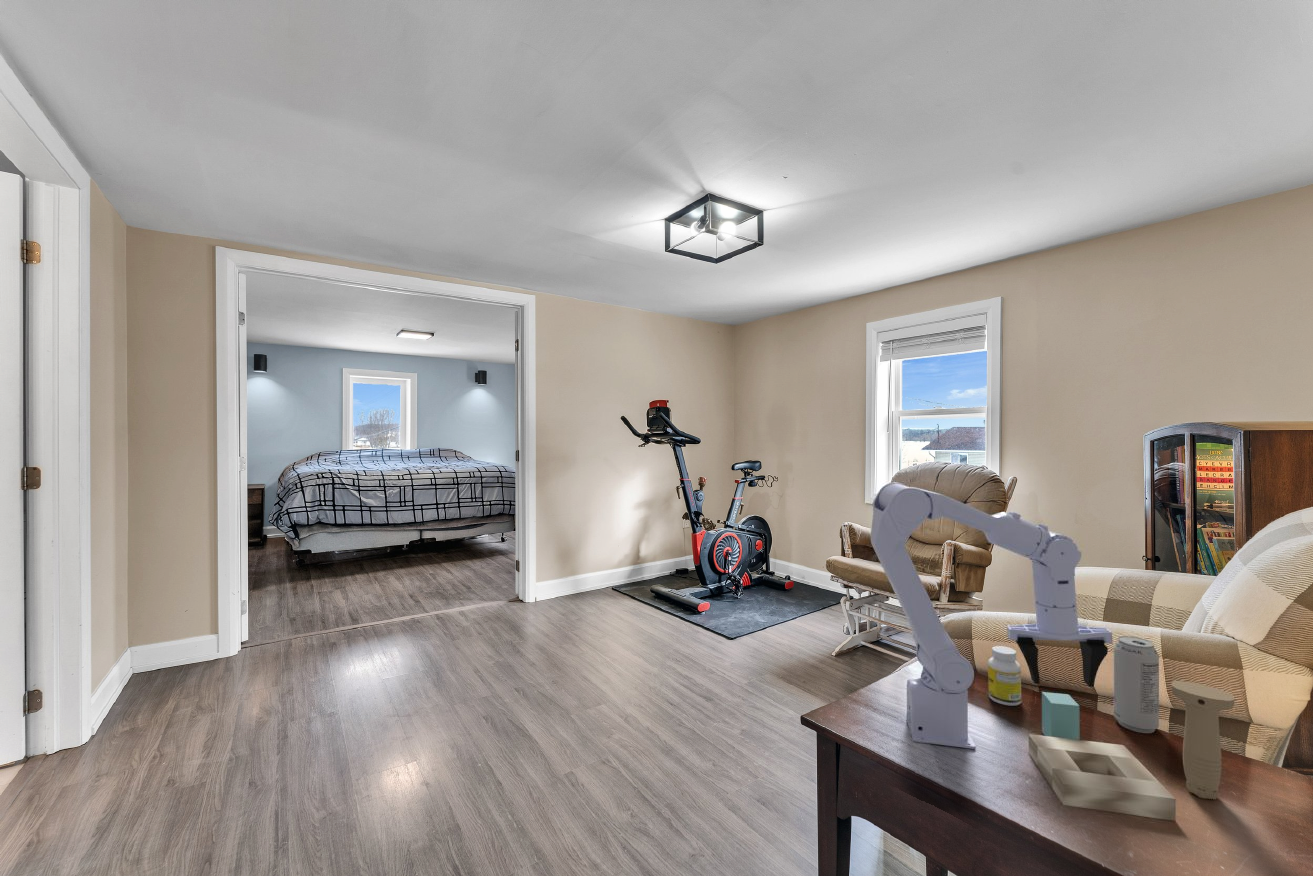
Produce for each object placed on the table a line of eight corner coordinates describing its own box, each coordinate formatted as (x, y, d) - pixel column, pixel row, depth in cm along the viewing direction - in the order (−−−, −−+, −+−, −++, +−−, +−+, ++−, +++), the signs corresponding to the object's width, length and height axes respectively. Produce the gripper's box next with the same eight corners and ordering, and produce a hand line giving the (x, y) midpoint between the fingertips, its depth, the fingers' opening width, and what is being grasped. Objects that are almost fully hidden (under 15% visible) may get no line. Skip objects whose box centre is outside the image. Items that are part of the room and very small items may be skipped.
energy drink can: (1128, 714, 102) (1128, 633, 101) (1167, 731, 96) (1167, 645, 96) (1105, 720, 100) (1105, 637, 100) (1144, 738, 94) (1144, 650, 94)
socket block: (1063, 804, 78) (1063, 783, 78) (1028, 752, 91) (1028, 734, 91) (1175, 821, 75) (1175, 799, 75) (1123, 764, 87) (1123, 745, 87)
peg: (1051, 744, 93) (1051, 703, 93) (1041, 731, 97) (1041, 691, 96) (1079, 747, 92) (1079, 705, 92) (1068, 734, 96) (1068, 694, 95)
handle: (1233, 813, 76) (1234, 704, 76) (1170, 791, 81) (1170, 688, 80) (1234, 796, 79) (1234, 692, 79) (1172, 776, 84) (1172, 678, 84)
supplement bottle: (989, 690, 112) (989, 642, 111) (1022, 697, 108) (1021, 648, 108) (986, 701, 107) (986, 651, 107) (1020, 709, 104) (1020, 657, 104)
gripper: (1097, 596, 95) (1103, 674, 95) (1000, 594, 100) (1006, 669, 100) (1115, 609, 88) (1122, 694, 89) (1010, 607, 93) (1017, 688, 93)
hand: (1061, 682), depth 94 cm, fingers open, 7 cm apart
